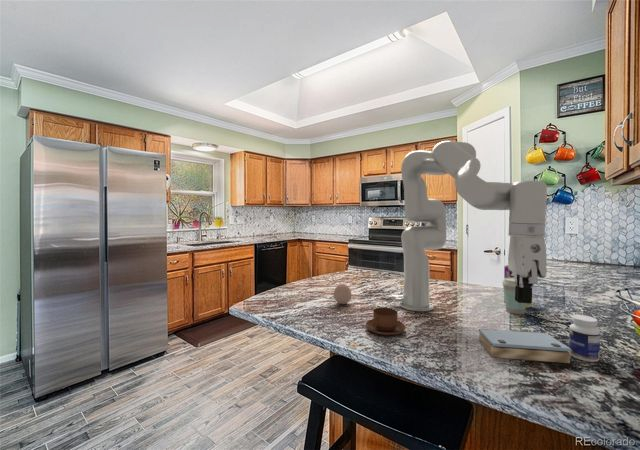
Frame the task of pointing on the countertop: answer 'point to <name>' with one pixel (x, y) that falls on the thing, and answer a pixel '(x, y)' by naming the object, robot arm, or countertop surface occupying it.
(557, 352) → the hinged lid wooden box
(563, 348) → the cover
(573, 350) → the pill bottle
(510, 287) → the coffee cup
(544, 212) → the robot arm
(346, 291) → the egg
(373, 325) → the cup and saucer
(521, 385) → the countertop surface
